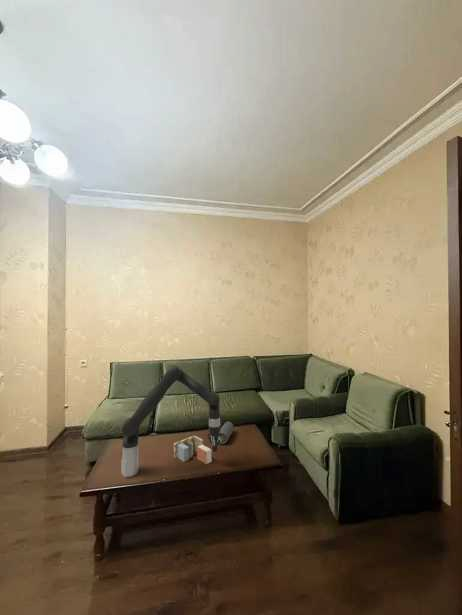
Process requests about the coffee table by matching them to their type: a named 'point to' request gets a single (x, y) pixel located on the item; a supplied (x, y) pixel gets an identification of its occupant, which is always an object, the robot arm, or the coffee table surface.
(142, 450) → the coffee table surface
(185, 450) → the shelved book
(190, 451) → the bookend
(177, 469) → the coffee table surface
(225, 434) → the bluetooth speaker
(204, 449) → the boxed book
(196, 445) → the shelf
